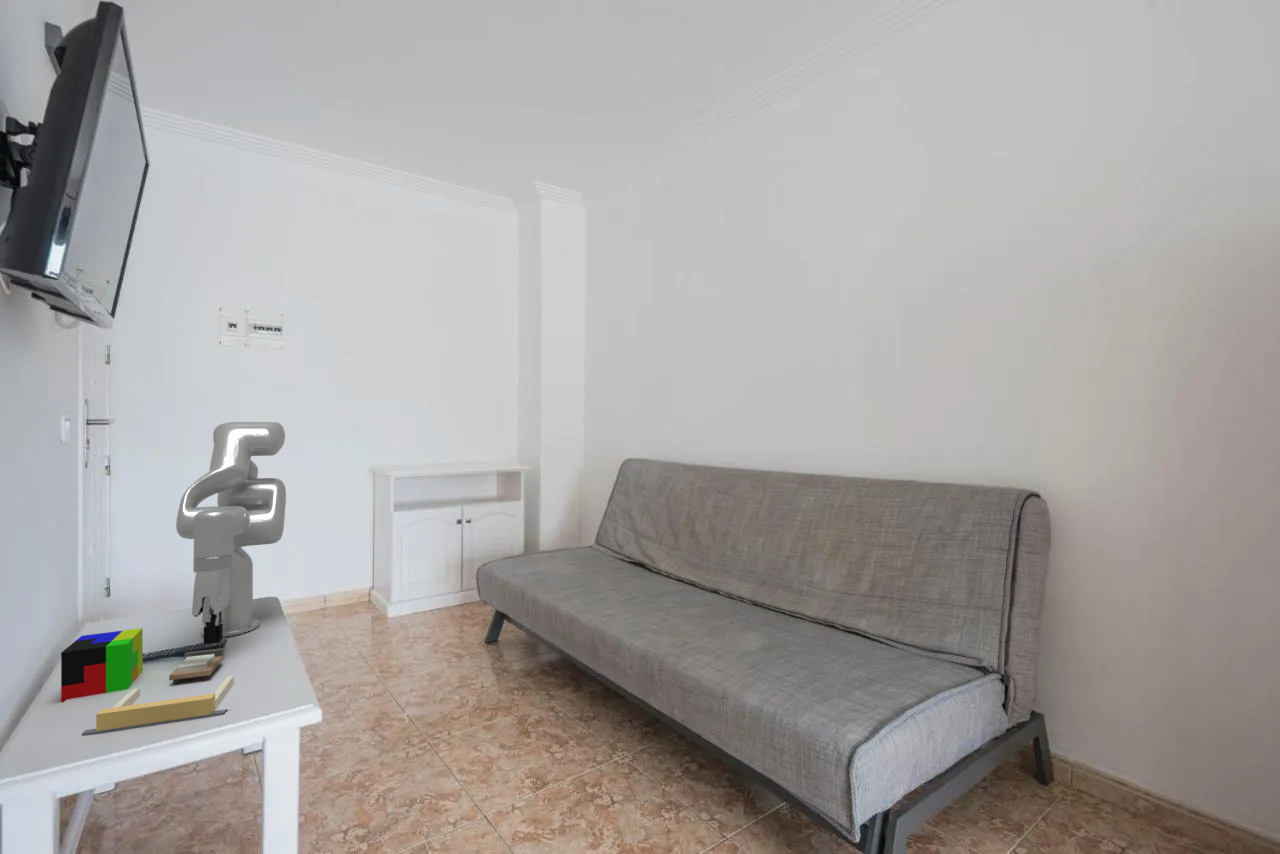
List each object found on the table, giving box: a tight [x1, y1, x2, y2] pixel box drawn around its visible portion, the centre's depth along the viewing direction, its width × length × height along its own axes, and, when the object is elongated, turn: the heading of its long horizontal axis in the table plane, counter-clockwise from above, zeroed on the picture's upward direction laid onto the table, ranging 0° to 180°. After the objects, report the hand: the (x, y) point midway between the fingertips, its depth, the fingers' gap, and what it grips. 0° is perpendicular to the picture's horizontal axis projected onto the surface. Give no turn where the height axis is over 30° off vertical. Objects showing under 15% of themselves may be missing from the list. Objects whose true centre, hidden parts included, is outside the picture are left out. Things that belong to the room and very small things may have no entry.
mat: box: [81, 675, 235, 737], centre depth 116 cm, size 26×21×3 cm
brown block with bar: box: [168, 647, 225, 685], centre depth 124 cm, size 9×7×4 cm
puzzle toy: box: [60, 627, 144, 703], centre depth 119 cm, size 10×10×10 cm
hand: (213, 642), depth 132 cm, fingers closed
